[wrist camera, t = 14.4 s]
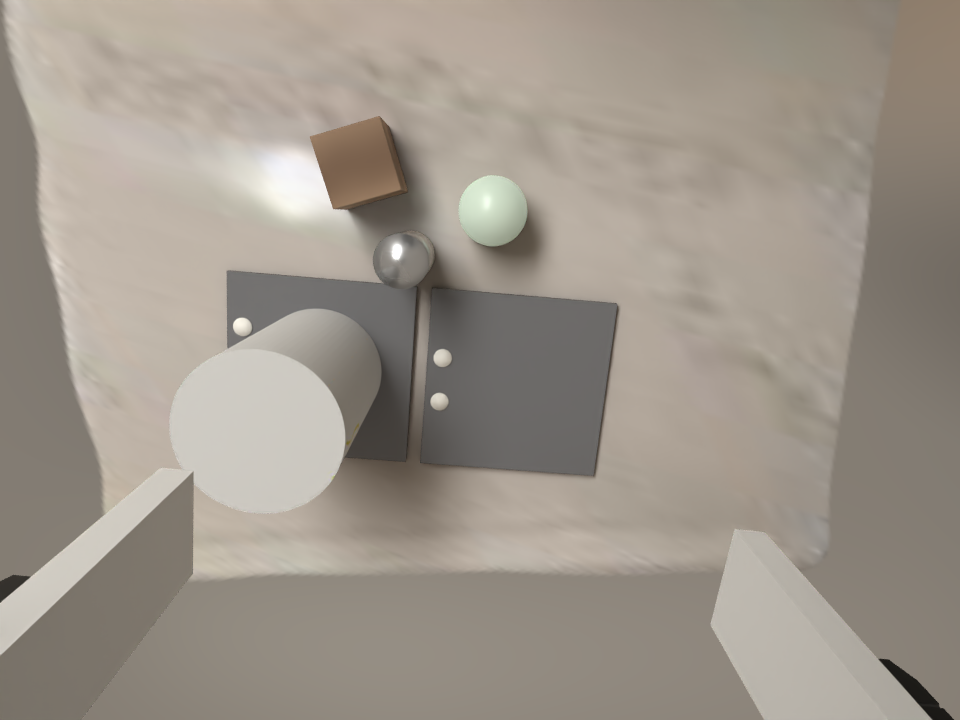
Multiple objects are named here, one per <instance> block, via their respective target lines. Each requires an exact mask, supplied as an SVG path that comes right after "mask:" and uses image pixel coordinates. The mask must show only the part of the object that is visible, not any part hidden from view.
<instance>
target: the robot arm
mask: <svg viewBox="0 0 960 720" xmlns="http://www.w3.org/2000/svg"><path fill="white" fill-rule="evenodd" d="M193 491H194V471H188V470H179V469H169V468H160V469H159V470H157V471H156V472H155V473H154V474H153V475H151V476H150V477H149V478H148V479H147V480H145V481H144V482H143V483H142V484H141V485H140V486H138V487H137V488H136V489H135V490H134V491H132V492H131V493H130V494H129V495H128V496H127V497H125V498H124V499H123V500H122V501H121V502H119V503H118V504H117V505H116V506H115V507H113V508H112V509H111V510H110V511H109V512H108V513H106V514H105V515H104V516H103V517H102V518H101V519H99V520H98V521H97V522H96V523H94V524H93V525H92V526H91V527H90V528H89V529H87V530H86V531H85V532H84V533H83V534H81V535H80V536H79V537H78V538H77V539H75V540H74V541H73V542H72V543H71V544H70V545H68V546H67V547H66V548H65V549H64V550H62V551H61V552H60V553H59V554H58V555H56V556H55V557H54V558H53V559H52V560H51V561H49V562H48V563H47V564H46V565H45V566H43V567H42V568H41V569H40V570H39V571H37V572H36V573H35V574H34V575H33V576H32V577H28V576H19V575H12V576H10V577H8V578H6V579H4V580H2V581H0V720H82V718H83V717H84V716H85V714H86V713H87V712H88V711H89V709H90V708H91V707H92V705H93V704H94V703H95V701H96V700H97V699H98V697H99V696H100V695H101V693H102V692H103V691H104V689H105V688H106V687H107V685H108V684H109V683H110V681H111V680H112V679H113V678H114V676H115V675H116V674H117V672H118V671H119V670H120V668H121V667H122V666H123V664H124V663H125V662H126V661H127V659H128V658H129V657H130V655H131V654H132V653H133V651H134V650H135V649H136V647H137V646H138V645H139V643H140V642H141V641H142V639H143V638H144V637H145V636H146V634H147V633H148V631H149V630H150V629H151V628H152V626H153V625H154V624H155V622H156V621H157V619H158V618H159V617H160V616H161V614H162V613H163V612H164V610H165V609H166V608H167V607H168V605H169V604H170V603H171V601H172V600H173V599H174V597H175V596H176V595H177V593H178V592H179V591H180V589H181V588H182V587H183V585H184V584H185V583H186V582H187V580H188V579H189V578H190V576H191V575H192V574H193ZM711 627H712V629H713V630H714V632H715V634H716V636H717V637H718V639H719V641H720V643H721V645H722V646H723V648H724V650H725V652H726V653H727V655H728V657H729V659H730V660H731V662H732V664H733V666H734V667H735V669H736V671H737V673H738V675H739V676H740V678H741V680H742V682H743V683H744V685H745V687H746V688H747V690H748V692H749V694H750V696H751V698H752V699H753V701H754V703H755V705H756V706H757V708H758V710H759V712H760V713H761V715H762V717H763V719H764V720H954V719H953V718H952V717H951V716H950V715H949V714H948V713H947V712H946V711H945V710H944V709H943V708H940V707H939V703H938V702H937V701H936V700H935V699H934V698H933V697H932V696H931V695H930V694H929V693H928V691H927V690H926V689H925V688H924V687H923V686H922V685H921V684H920V683H919V682H918V681H917V680H916V679H915V678H913V677H912V676H910V675H909V674H908V673H906V672H905V671H904V670H902V669H901V668H899V667H898V666H897V665H895V664H894V663H892V662H891V661H890V660H887V659H878V658H877V657H876V656H875V655H874V654H873V653H872V652H871V651H870V649H869V648H868V647H867V646H866V645H865V644H864V643H863V642H862V640H861V639H860V638H859V637H858V636H857V635H856V634H855V633H854V632H853V630H852V629H851V628H850V627H849V626H848V625H847V624H846V623H845V621H844V620H843V619H842V618H841V617H840V616H839V615H838V614H837V613H836V611H835V610H834V609H833V608H832V607H831V606H830V605H829V603H828V602H827V601H826V600H825V599H824V598H823V597H822V596H821V595H820V593H819V592H818V591H817V590H816V589H815V588H814V587H813V586H812V584H810V582H809V581H808V580H807V579H806V578H805V577H804V575H803V574H802V573H801V572H800V571H799V570H798V569H797V568H796V566H795V565H794V564H793V563H792V562H791V561H790V560H789V559H788V557H787V556H786V555H785V554H784V553H783V552H782V551H781V550H780V548H779V547H778V546H777V545H776V544H775V543H774V542H773V541H772V540H771V538H770V537H769V536H768V535H767V534H766V533H765V532H758V531H749V530H740V529H734V533H733V537H732V541H731V545H730V549H729V553H728V557H727V561H726V565H725V569H724V573H723V577H722V581H721V585H720V590H719V593H718V597H717V601H716V605H715V609H714V613H713V617H712V621H711Z"/></svg>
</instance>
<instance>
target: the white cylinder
mask: <svg viewBox="0 0 960 720" xmlns="http://www.w3.org/2000/svg"><path fill="white" fill-rule="evenodd" d="M381 373H382V370H381V361H380V357H379V353H378V351H377V348H376V346H375V344H374V342H373V340H372V339H371V337H370V336H369V335H368V333H367V332H366V331H365V330H364V329H363V328H362V327H361V326H360V325H359V324H358V323H356V322H355V321H354V320H352V319H351V318H349V317H347V316H345V315H343V314H341V313H338V312H335V311H331V310H326V309H305V310H301V311H297V312H294V313H292V314H289V315H287V316H286V317H284V318H282V319H280V320H278V321H277V322H275V323H273V324H271V325H269V326H268V327H266V328H264V329H262V330H260V331H259V332H257V333H255V334H253V335H251V336H250V337H248V338H246V339H244V340H242V341H241V342H239V343H237V344H235V345H234V346H232V347H230V348H228V349H226V350H225V351H223V352H221V353H219V354H217V355H216V356H214V357H212V358H210V359H208V360H207V361H205V362H203V363H202V364H201V365H199V366H198V367H197V368H195V369H194V370H193V371H192V372H191V373H190V374H189V375H188V376H187V377H186V379H185V380H184V381H183V383H182V384H181V386H180V387H179V389H178V391H177V393H176V395H175V397H174V400H173V403H172V407H171V411H170V418H169V432H170V439H171V444H172V447H173V451H174V453H175V456H176V458H177V460H178V462H179V464H180V466H181V468H182V469H183V470H188V471H194V484H195V485H196V486H197V487H198V488H199V489H200V490H201V491H202V492H204V493H205V494H206V495H208V496H209V497H210V498H212V499H214V500H215V501H217V502H219V503H221V504H223V505H225V506H228V507H230V508H233V509H236V510H240V511H244V512H249V513H258V514H271V513H279V512H284V511H288V510H292V509H295V508H297V507H300V506H302V505H304V504H306V503H308V502H309V501H311V500H312V499H314V498H315V497H317V496H318V495H319V494H320V493H321V492H322V491H323V490H324V489H325V488H326V487H327V486H328V485H329V484H330V482H331V481H332V480H333V478H334V476H335V475H336V473H337V471H338V469H339V467H340V465H341V463H342V461H343V459H344V457H345V456H346V454H347V452H348V450H349V448H350V446H351V444H352V442H353V440H354V438H355V436H356V434H357V432H358V430H359V428H360V426H361V424H362V422H363V421H364V419H365V417H366V415H367V413H368V411H369V409H370V407H371V405H372V403H373V401H374V399H375V397H376V395H377V393H378V390H379V387H380V383H381Z"/></svg>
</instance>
